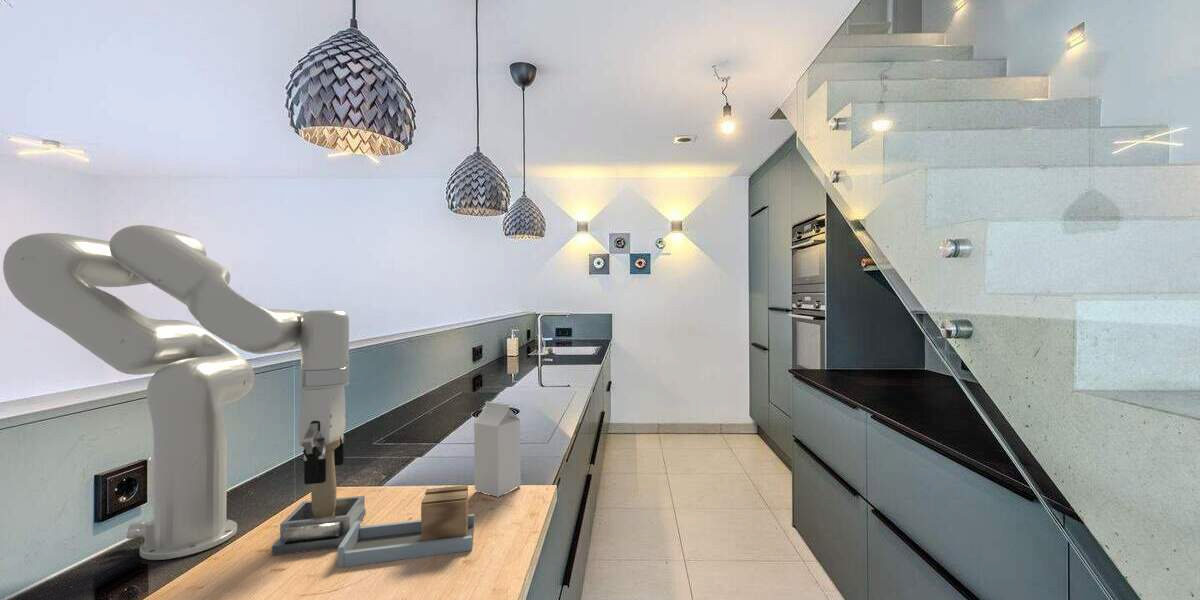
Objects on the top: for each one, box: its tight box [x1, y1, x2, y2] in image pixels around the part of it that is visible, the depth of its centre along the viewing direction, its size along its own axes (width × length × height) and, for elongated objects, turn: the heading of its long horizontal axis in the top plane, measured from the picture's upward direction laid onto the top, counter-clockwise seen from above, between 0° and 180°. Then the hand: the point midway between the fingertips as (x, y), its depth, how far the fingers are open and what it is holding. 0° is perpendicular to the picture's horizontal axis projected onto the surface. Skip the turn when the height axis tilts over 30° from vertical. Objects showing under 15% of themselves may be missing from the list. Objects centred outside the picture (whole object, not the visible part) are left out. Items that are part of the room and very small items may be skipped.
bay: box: [337, 513, 475, 568], centre depth 78 cm, size 20×9×3 cm, turn 103°
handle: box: [310, 437, 340, 519], centre depth 83 cm, size 5×6×15 cm
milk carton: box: [473, 401, 522, 498], centre depth 102 cm, size 7×7×19 cm
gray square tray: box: [271, 495, 367, 557], centre depth 82 cm, size 11×12×4 cm
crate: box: [420, 484, 469, 542], centre depth 79 cm, size 7×7×7 cm
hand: (325, 473), depth 84 cm, fingers open, 9 cm apart
